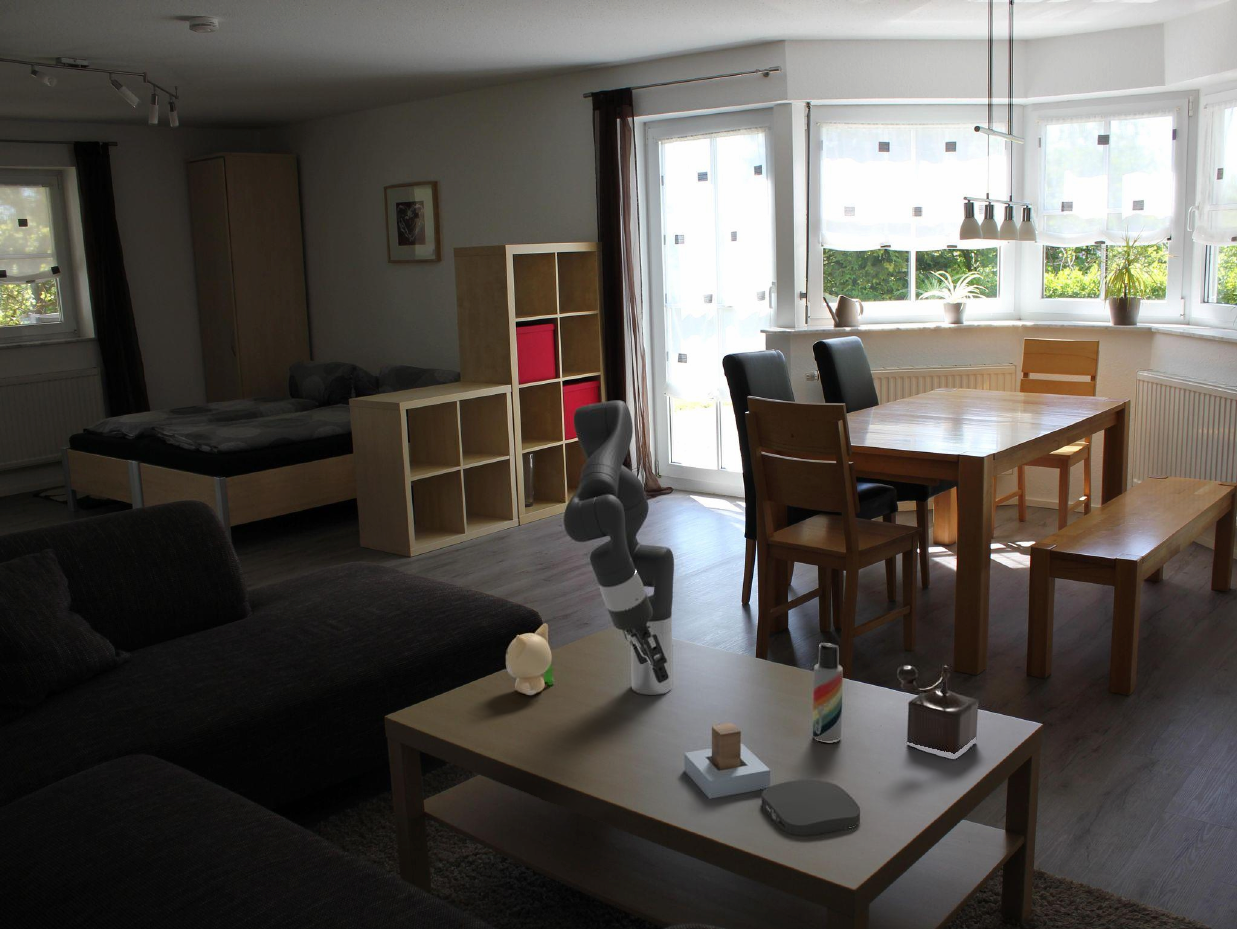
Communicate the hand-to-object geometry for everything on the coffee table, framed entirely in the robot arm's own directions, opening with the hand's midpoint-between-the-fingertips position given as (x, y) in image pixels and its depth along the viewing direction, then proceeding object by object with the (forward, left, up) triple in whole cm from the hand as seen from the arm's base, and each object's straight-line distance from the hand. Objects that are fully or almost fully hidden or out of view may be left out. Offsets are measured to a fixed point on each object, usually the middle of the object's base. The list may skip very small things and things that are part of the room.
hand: (653, 670), depth 197 cm
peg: (-6, +12, -21) cm, 25 cm away
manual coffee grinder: (-38, +42, -21) cm, 61 cm away
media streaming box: (-2, +30, -22) cm, 37 cm away
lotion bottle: (-32, +22, -21) cm, 44 cm away
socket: (-6, +12, -21) cm, 25 cm away
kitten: (-23, -45, -21) cm, 55 cm away
